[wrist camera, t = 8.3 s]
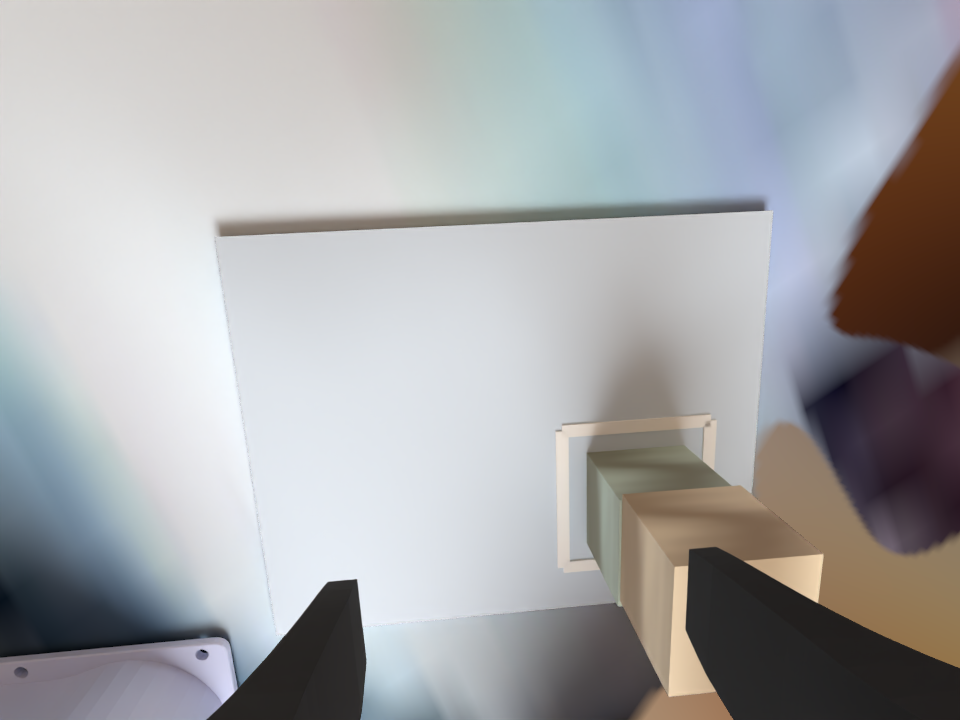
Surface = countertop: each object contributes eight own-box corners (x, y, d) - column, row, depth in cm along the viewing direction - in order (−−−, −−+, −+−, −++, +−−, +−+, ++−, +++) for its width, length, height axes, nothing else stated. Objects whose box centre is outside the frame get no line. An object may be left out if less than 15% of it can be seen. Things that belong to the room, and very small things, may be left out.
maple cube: (619, 600, 19) (668, 696, 15) (622, 494, 18) (674, 566, 14) (732, 590, 19) (808, 682, 15) (740, 485, 18) (824, 554, 14)
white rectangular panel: (279, 627, 23) (275, 637, 22) (219, 236, 19) (213, 236, 19) (738, 583, 24) (746, 591, 24) (765, 210, 21) (774, 210, 20)
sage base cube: (586, 542, 23) (618, 606, 19) (586, 452, 22) (619, 500, 18) (680, 534, 23) (730, 595, 19) (684, 444, 22) (737, 490, 18)
